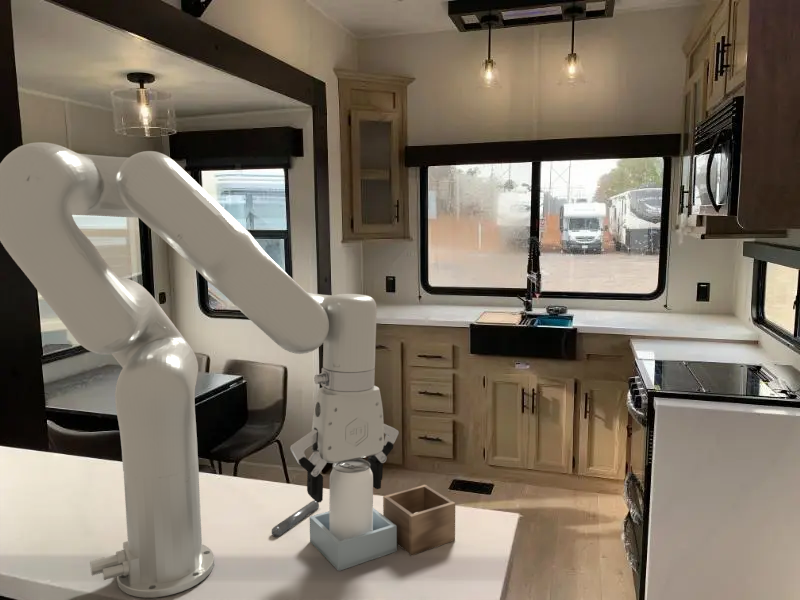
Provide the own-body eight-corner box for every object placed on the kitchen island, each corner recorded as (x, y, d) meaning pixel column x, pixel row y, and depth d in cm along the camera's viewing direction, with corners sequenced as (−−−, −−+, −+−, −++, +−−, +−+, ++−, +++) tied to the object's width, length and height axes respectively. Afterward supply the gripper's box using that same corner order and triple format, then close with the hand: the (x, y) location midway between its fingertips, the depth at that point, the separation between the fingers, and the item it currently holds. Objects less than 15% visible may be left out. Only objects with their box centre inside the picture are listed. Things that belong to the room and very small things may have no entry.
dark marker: (277, 539, 94) (277, 530, 93) (269, 537, 94) (269, 527, 94) (320, 508, 104) (320, 500, 104) (313, 507, 104) (313, 498, 104)
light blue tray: (338, 571, 84) (338, 544, 84) (310, 541, 93) (309, 516, 92) (396, 551, 90) (396, 525, 89) (364, 524, 98) (364, 501, 97)
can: (353, 557, 86) (353, 476, 85) (320, 544, 90) (320, 466, 89) (381, 540, 92) (382, 463, 90) (348, 527, 95) (349, 454, 94)
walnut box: (411, 555, 88) (411, 516, 88) (383, 532, 95) (383, 496, 94) (455, 540, 93) (455, 503, 92) (425, 519, 99) (425, 484, 99)
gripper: (303, 392, 80) (301, 515, 82) (412, 379, 89) (408, 490, 91) (282, 379, 86) (280, 494, 88) (386, 368, 96) (382, 472, 98)
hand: (345, 492), depth 90 cm, fingers open, 9 cm apart
